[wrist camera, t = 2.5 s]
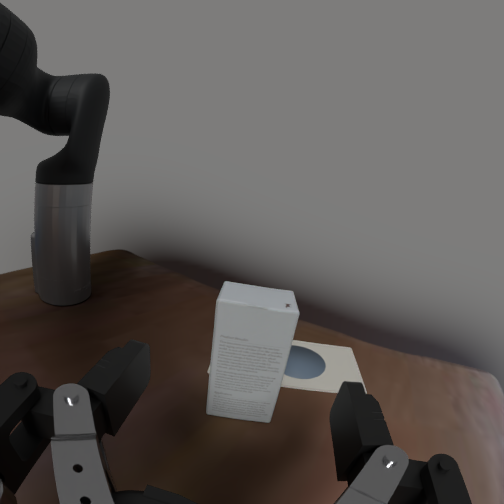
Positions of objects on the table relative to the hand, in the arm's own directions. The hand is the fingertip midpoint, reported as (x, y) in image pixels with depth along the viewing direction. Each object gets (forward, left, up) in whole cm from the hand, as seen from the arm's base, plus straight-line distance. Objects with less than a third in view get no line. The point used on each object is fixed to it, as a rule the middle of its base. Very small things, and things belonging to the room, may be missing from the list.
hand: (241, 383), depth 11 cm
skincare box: (0, +12, -13) cm, 17 cm away
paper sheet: (+5, +21, -13) cm, 25 cm away
